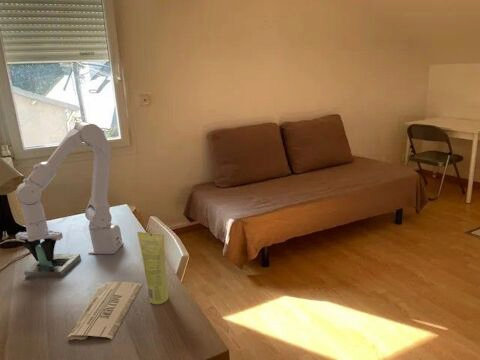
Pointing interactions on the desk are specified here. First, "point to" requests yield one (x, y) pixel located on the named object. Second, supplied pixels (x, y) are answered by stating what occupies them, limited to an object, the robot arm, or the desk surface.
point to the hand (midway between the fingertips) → (45, 259)
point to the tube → (154, 266)
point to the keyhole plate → (54, 272)
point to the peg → (42, 257)
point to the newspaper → (105, 310)
